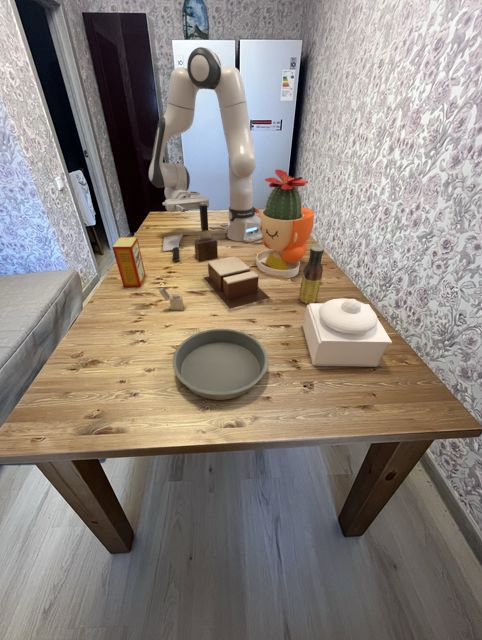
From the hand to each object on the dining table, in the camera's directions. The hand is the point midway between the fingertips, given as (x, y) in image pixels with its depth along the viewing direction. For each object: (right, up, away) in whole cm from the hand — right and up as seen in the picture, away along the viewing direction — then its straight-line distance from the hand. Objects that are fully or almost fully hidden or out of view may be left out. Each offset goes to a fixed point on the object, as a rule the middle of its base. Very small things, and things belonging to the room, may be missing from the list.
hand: (193, 209), depth 126 cm
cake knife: (+5, -20, +4) cm, 21 cm away
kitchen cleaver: (-12, -14, +12) cm, 21 cm away
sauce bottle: (+44, -46, -25) cm, 68 cm away
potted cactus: (+38, -26, -3) cm, 47 cm away
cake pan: (+14, -68, -50) cm, 85 cm away
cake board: (+18, -40, -18) cm, 47 cm away
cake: (+16, -36, -14) cm, 42 cm away
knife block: (+5, -20, +4) cm, 21 cm away
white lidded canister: (+48, -61, -42) cm, 89 cm away
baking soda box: (-22, -35, -12) cm, 43 cm away
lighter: (-3, -48, -27) cm, 56 cm away
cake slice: (+20, -42, -22) cm, 51 cm away
